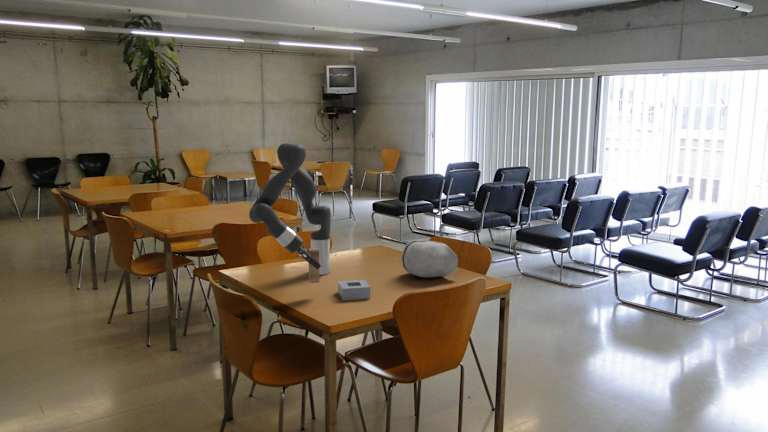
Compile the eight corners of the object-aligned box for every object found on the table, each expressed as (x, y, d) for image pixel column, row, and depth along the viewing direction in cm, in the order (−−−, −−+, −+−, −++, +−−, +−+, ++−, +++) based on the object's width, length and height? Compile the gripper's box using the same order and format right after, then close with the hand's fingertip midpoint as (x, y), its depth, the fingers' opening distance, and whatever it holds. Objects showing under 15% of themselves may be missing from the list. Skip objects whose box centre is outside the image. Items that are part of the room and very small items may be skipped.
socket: (337, 292, 267) (337, 281, 266) (364, 290, 270) (364, 279, 269) (342, 300, 255) (342, 288, 255) (370, 298, 258) (370, 287, 257)
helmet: (438, 236, 313) (393, 235, 295) (473, 245, 294) (427, 245, 275) (434, 270, 315) (389, 271, 297) (469, 281, 295) (423, 284, 277)
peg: (308, 280, 260) (308, 248, 258) (318, 279, 261) (317, 248, 259) (310, 283, 256) (309, 250, 254) (319, 282, 257) (319, 250, 255)
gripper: (297, 236, 246) (327, 264, 251) (294, 229, 260) (322, 255, 265) (284, 249, 246) (314, 277, 251) (281, 242, 260) (310, 268, 265)
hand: (318, 266), depth 258 cm, fingers closed on peg, 4 cm apart
